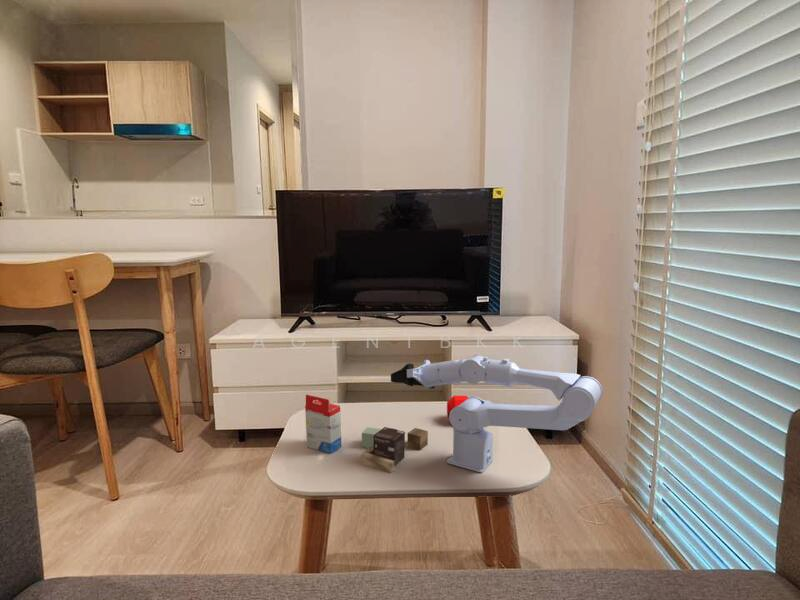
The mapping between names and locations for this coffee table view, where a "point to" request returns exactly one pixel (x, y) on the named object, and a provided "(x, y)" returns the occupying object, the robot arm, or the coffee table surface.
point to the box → (389, 444)
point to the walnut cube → (417, 439)
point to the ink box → (322, 424)
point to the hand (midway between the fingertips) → (400, 379)
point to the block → (368, 436)
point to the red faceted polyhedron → (455, 402)
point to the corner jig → (376, 461)
